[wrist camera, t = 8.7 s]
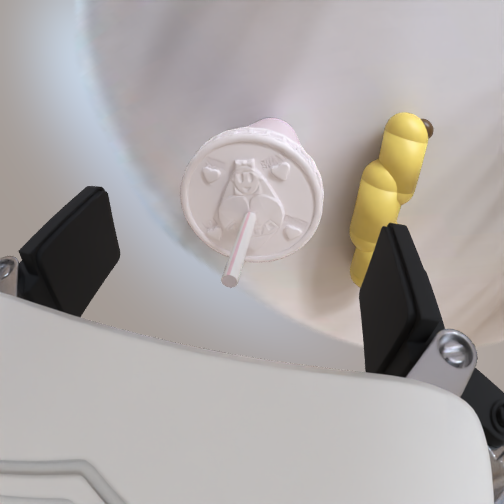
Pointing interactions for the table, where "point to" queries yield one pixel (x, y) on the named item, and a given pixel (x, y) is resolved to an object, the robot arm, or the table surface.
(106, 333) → the robot arm
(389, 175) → the yellow lumpy bar
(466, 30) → the table surface
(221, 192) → the smoothie
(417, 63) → the table surface
